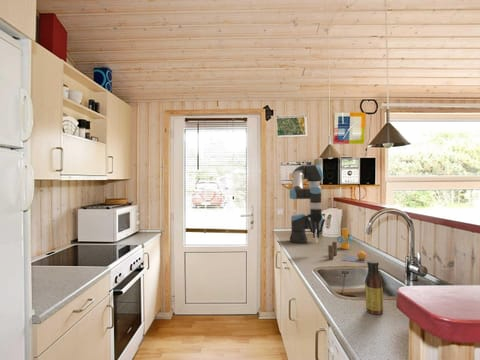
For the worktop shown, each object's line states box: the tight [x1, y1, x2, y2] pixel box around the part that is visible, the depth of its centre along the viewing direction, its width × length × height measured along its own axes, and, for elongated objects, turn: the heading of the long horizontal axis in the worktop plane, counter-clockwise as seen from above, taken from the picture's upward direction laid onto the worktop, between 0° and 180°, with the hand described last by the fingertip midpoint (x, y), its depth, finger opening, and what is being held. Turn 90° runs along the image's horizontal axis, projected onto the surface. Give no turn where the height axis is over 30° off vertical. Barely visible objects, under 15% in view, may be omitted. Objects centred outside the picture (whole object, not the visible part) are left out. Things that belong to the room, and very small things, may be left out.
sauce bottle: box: [364, 259, 384, 315], centre depth 122 cm, size 7×6×20 cm
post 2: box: [331, 241, 338, 256], centre depth 216 cm, size 3×3×9 cm
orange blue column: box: [336, 227, 354, 250], centre depth 237 cm, size 12×10×15 cm
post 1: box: [327, 244, 334, 261], centre depth 205 cm, size 3×3×9 cm
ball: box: [356, 251, 367, 260], centre depth 202 cm, size 6×6×6 cm
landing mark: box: [341, 255, 368, 264], centre depth 204 cm, size 14×14×1 cm
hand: (316, 242), depth 216 cm, fingers closed
